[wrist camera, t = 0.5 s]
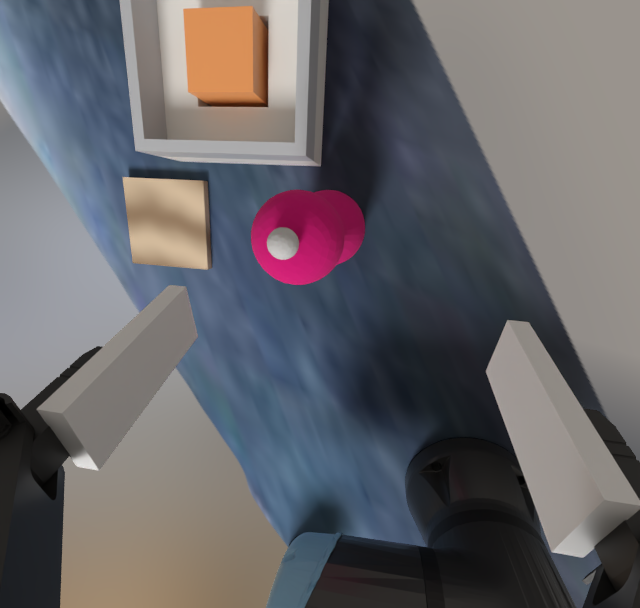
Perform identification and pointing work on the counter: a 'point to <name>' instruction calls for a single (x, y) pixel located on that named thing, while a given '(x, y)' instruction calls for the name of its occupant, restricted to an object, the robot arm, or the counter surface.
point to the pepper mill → (306, 234)
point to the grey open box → (227, 122)
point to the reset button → (227, 56)
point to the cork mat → (168, 222)
